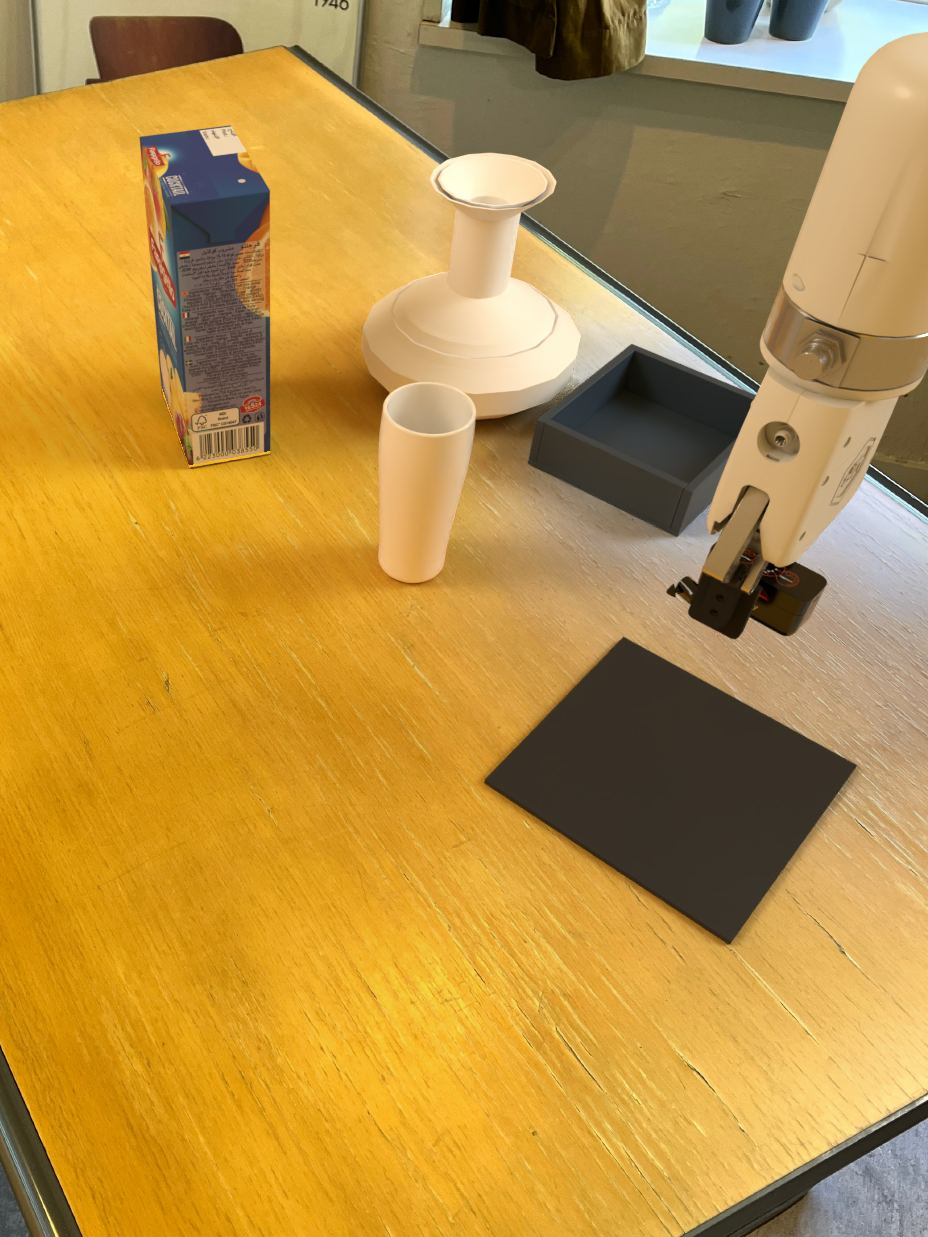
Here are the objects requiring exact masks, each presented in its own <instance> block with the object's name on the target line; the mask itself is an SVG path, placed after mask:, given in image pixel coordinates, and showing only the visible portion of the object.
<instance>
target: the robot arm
mask: <svg viewBox="0 0 928 1237" xmlns="http://www.w3.org/2000/svg"><path fill="white" fill-rule="evenodd" d="M799 229H800V230H799V232H798V235H797V237H796V240H795V243H794V246H793V248H792V251H791V255H790V257H789V260H788V262H787V264H786V265H787V266H786V269H785V270H784V274H783V275H782V276H783V277H782V279H781V282H780V285H779V288H778V290H777V293H776V295H775V298H774V301H773V303H772V307H771V310H770V312H769V315H768V318H767V321H766V323H765V326H764V328H763V331H762V334H761V337H760V339H759V340H760V341H759V348H760V349H759V350H760V353H761V356H762V357H763V359H764V360H765V362H766V363H767V364H768V368H767V371H766V373H765V375H764V377H763V380H762V381H761V383H760V386H759V387H758V390H757V392H756V394H755V395H756V396H755V399H754V400H753V401H752V403H751V407H750V410H749V412H748V414H747V417H746V419H745V421H744V423H743V426H742V428H741V430H740V432H739V435H738V437H737V440H736V442H735V444H734V447H733V449H732V451H731V454H730V456H729V459H728V461H727V464H726V466H725V469H724V471H723V474H722V476H721V479H720V481H719V484H718V486H717V489H716V492H715V495H714V497H713V500H712V503H711V504H710V505H709V506H710V507H709V511H708V514H707V518H706V528H707V530H708V533H709V534H710V535H711V536H713V535H716V534H719V533H720V534H719V536H718V538H717V540H716V541H715V543H716V545H715V547H714V548H713V550H712V552H711V553H710V555H709V557H708V559H707V558H706V559H707V560H706V559H705V561H706V562H705V561H704V564H703V566H702V568H701V570H700V573H701V572H702V573H703V574H702V576H701V579H700V582H699V584H698V583H697V584H698V587H697V589H696V592H695V594H694V597H693V600H692V602H691V605H690V604H689V608H688V610H687V614H688V616H689V617H690V618H691V619H692V620H694V621H696V622H699V623H700V624H702V625H704V626H706V627H708V628H710V629H711V630H714V631H716V632H717V633H719V634H721V635H723V636H725V637H727V638H729V639H731V640H737V639H738V638H739V637H741V635H743V633H744V631H745V629H746V626H747V624H748V622H749V619H750V618H749V617H750V615H751V613H752V611H753V608H754V606H755V604H756V602H757V600H758V597H759V595H760V593H761V591H762V588H763V587H761V586H759V585H758V583H759V581H760V579H761V577H762V575H763V573H764V571H765V569H766V567H767V565H768V563H769V562H770V563H773V564H775V566H777V567H784V566H787V565H790V564H792V563H794V562H797V560H799V558H801V557H802V555H803V554H804V553H806V552H807V550H808V549H809V548H810V547H811V546H812V545H813V544H814V542H816V540H817V539H819V537H820V536H821V535H822V534H823V533H824V532H825V531H826V529H827V528H828V527H829V526H830V524H832V523H833V521H834V520H835V519H836V518H837V517H838V515H840V513H842V511H843V510H844V509H845V507H846V506H847V505H848V504H849V502H850V501H851V500H852V499H853V497H854V496H855V494H856V493H857V491H858V490H859V488H860V487H861V484H862V483H863V480H864V478H865V477H866V474H867V472H868V469H869V467H870V465H871V463H872V461H873V458H874V455H875V454H876V451H877V449H878V446H879V444H880V442H881V440H882V437H883V435H884V432H885V430H886V428H887V425H888V423H889V421H890V419H891V417H892V414H893V413H894V409H895V408H896V405H897V402H898V400H899V397H900V396H905V395H906V394H908V393H910V392H912V391H913V390H915V389H916V388H917V387H918V386H919V385H920V384H921V382H922V380H923V378H924V376H925V375H926V372H927V370H928V31H923V32H917V33H916V32H915V33H910V34H907V35H902V36H901V37H897V38H895V39H893V40H891V41H889V42H887V43H885V44H884V45H883V46H881V47H879V48H878V49H877V50H876V51H875V52H874V53H872V55H871V56H870V57H869V58H868V59H866V62H864V64H863V65H862V67H861V69H860V71H859V72H858V74H857V76H856V78H855V81H854V83H853V86H852V89H851V91H850V93H849V96H848V98H847V101H846V104H845V106H844V109H843V112H842V115H841V117H840V120H839V123H838V126H837V128H836V131H835V134H834V136H833V139H832V142H831V144H830V147H829V149H828V153H827V155H826V158H825V161H824V164H823V166H822V168H821V172H820V175H819V178H818V180H817V183H816V186H815V188H814V191H813V194H812V196H811V200H810V202H809V205H808V207H807V210H806V213H805V216H804V218H803V222H802V225H801V227H800V228H799ZM746 548H747V549H749V550H751V551H753V552H755V553H757V556H756V558H755V560H754V562H753V564H752V566H751V568H750V569H749V567H748V566H747V565H745V564H743V563H741V562H739V560H740V558H741V556H742V554H743V552H744V551H745V549H746Z"/></svg>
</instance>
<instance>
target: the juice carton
mask: <svg viewBox="0 0 928 1237" xmlns="http://www.w3.org/2000/svg"><path fill="white" fill-rule="evenodd" d="M138 138H139V147H140V160H141V170H142V183H143V195H144V206H145V216H146V217H145V218H146V230H147V239H148V240H147V241H148V252H149V263H150V274H151V285H152V286H151V287H152V297H153V298H152V299H153V308H154V320H155V332H156V343H157V354H158V365H159V366H158V367H159V376H160V377H159V378H160V387H161V386H162V389H163V392H164V395H165V398H166V401H167V404H168V407H169V410H170V413H171V415H172V418H173V422H174V424H175V427H176V430H177V432H178V436H179V438H180V441H181V444H182V447H183V450H184V453H185V456H186V458H187V461H188V464H189V465H193V464H200V463H206V462H209V461H215V460H221V459H228V458H234V457H239V456H245V455H251V454H256V453H262V452H267V451H271V189H270V188H269V186H268V184H267V183H266V181H265V180H264V178H263V176H262V175H261V173H260V171H259V170H258V168H257V166H256V164H255V163H254V161H253V159H252V158H251V157H250V155H249V153H248V151H247V150H246V148H245V147H244V145H243V143H242V141H241V140H240V138H239V136H238V134H236V132H235V130H234V128H233V127H232V125H230V124H229V125H222V126H221V125H220V126H213V127H206V128H198V129H190V130H182V131H175V132H167V133H159V134H150V135H142V136H139V137H138ZM183 450H182V451H183ZM271 452H272V451H271ZM184 453H183V454H184ZM185 456H184V457H185ZM187 461H186V462H187ZM188 464H187V465H188Z"/></svg>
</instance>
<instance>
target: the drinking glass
mask: <svg viewBox="0 0 928 1237" xmlns="http://www.w3.org/2000/svg"><path fill="white" fill-rule="evenodd" d="M476 421H477V420H476V407H475V405H474V403H473V401H472V400H471V399H470V397H469V396H467V395H466V394H465V393H464V392H462V391H460V390H459V389H456V388H454V387H452V386H449V385H445V384H441V383H434V382H418V383H412V384H407V385H404V386H401V387H399V388H397V389H395V390H394V391H392V392H391V393H390V392H389V393H388V395H387V396H386V398H385V399H384V401H383V404H382V410H381V418H380V425H379V432H378V446H377V447H378V448H377V478H378V483H377V484H378V485H377V486H378V539H379V540H378V549H377V559H378V564H379V566H380V568H381V569H382V571H383V572H384V573H385V574H386V575H387V576H389V577H390V578H392V579H394V580H395V581H398V582H402V583H405V584H406V583H407V584H419V583H425V582H428V581H431V580H432V579H434V578H435V577H437V576H438V575H439V574H440V573H441V571H442V570H443V568H444V565H445V562H446V557H447V556H446V555H447V550H448V545H449V542H450V537H451V533H452V530H453V526H454V521H455V518H456V514H457V510H458V508H459V507H458V506H459V503H460V499H461V496H462V492H463V489H464V486H465V485H464V484H465V481H466V477H467V474H468V469H469V465H470V461H471V458H472V451H473V445H474V439H475V430H476Z"/></svg>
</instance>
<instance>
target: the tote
mask: <svg viewBox="0 0 928 1237" xmlns="http://www.w3.org/2000/svg"><path fill="white" fill-rule="evenodd" d="M755 396H756V394H755V393H752V392H750V391H747V390H745V389H743V388H740V387H737V386H735V385H732V384H731V383H728V382H726V381H723V380H720V379H718V378H716V377H714V376H711V375H708V374H706V373H705V372H704V373H703V372H702V371H699V370H697V369H694V368H691V367H689V366H687V365H684V364H682V363H679V362H677V361H675V360H672V359H671V358H668V357H665V356H663V355H660V354H658V353H656V352H653V351H650V350H648V349H646V348H643V347H641V346H638V345H637V344H633V343H631V344H629V345H628V346H626V348H625V349H623V350H622V351H621V352H619V353H618V354H617V355H615V356H614V357H613V358H611V359H610V360H609V361H608V362H607V363H606V364H604V365H603V366H602V367H600V368H599V369H598V370H596V371H595V372H594V373H593V374H592V375H591V376H588V378H587V379H585V380H584V381H582V383H580V384H579V385H578V386H576V387H575V388H574V389H572V391H570V392H569V393H567V395H565V396H564V397H563V398H562V399H560V400H559V401H558V402H556V403H555V404H554V405H553V406H551V408H549V409H548V410H547V411H545V412H544V413H542V414H541V415H540V416H539V417H538V418H537V419H536V421H535V426H534V430H533V437H532V441H531V444H530V445H531V446H530V450H529V455H528V460H527V464H528V465H530V466H531V467H534V468H536V469H538V470H540V471H542V472H544V473H546V474H548V475H550V476H553V477H554V478H556V479H558V480H561V481H562V482H565V483H567V484H569V485H571V486H572V487H575V488H577V489H579V490H581V491H583V492H585V493H586V494H589V495H591V496H593V497H594V498H597V499H599V500H601V501H603V502H605V503H607V504H609V505H611V506H613V507H616V508H618V509H620V510H622V511H624V512H626V513H627V514H630V515H632V516H634V517H636V518H638V519H640V520H641V521H644V522H646V523H648V524H650V525H652V526H654V527H656V528H658V529H660V530H662V531H664V532H666V533H668V534H670V535H672V536H675V537H676V538H677V537H679V536H680V535H681V534H682V533H683V532H684V531H685V530H686V529H687V528H688V527H689V526H690V525H691V524H692V523H693V522H694V521H695V520H696V519H697V518H699V516H700V515H701V514H702V513H703V512H704V511H705V510H706V509H707V508H708V507H709V506H711V503H712V500H713V497H714V495H715V492H716V489H717V486H718V484H719V481H720V479H721V476H722V474H723V471H724V469H725V466H726V464H727V461H728V459H729V456H730V454H731V451H732V449H733V447H734V444H735V442H736V440H737V437H738V435H739V432H740V430H741V428H742V426H743V423H744V421H745V419H746V417H747V414H748V412H749V410H750V407H751V403H752V401H753V400H754V399H755Z"/></svg>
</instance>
